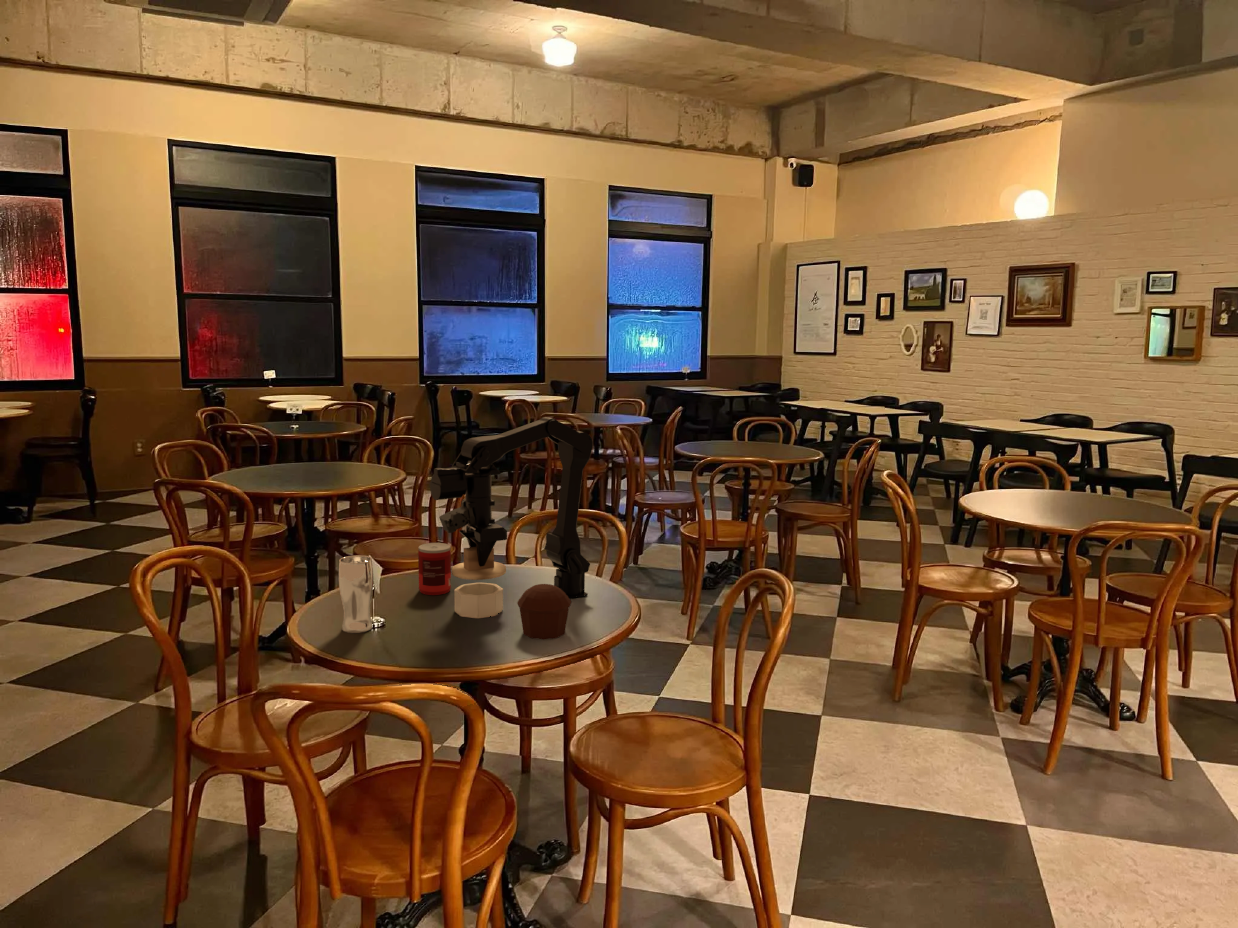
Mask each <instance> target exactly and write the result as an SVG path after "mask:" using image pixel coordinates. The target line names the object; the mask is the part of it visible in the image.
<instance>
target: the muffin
mask: <svg viewBox="0 0 1238 928" xmlns="http://www.w3.org/2000/svg"><path fill="white" fill-rule="evenodd" d="M516 603H517V606H518V608H519V613H520V620H521V627H522V631H523V632H522V633H523V635H524V636H527V637H529V638H530V639H538V640H549V639H550V640H551V639H552V640H553V639H558V638H560V637H562V636H564V635H565V633H566V628H567V627H566V626H567V621H568V615H569V608H570V607H571V604H572V600H571V598H568V596H567V595H566V594H565V592H563V591H562V590H561V589H560V588H558V587H557V586H554V584H549V583H539V584H535V585H532V586H531V587H529V588H528V589H526V590H525V591H524V592H523V593H522V595H521V596H520V598H519V599H518V600H517V602H516Z"/></svg>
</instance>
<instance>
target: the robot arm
mask: <svg viewBox="0 0 1238 928" xmlns="http://www.w3.org/2000/svg"><path fill="white" fill-rule="evenodd" d="M546 438H547V439H549V440H550V441H551V442H553V443H555V444H557V447H558V451H557V452H558V456H559V460H560V463H561V466H562V467H561V469H562V471H561V480H560V481H561V482H560V490H559V498H558V507H557V516H556V517H557V518H556V524H555V528H554V529H553V531H552V532H551V533H550V532H547V533H546V535H545V539H546V540H545V542H546V543H545V546H544V547H543V549H544V550H546V557H547V558H548V559H549V560H550V561H551V563H552V567H554V568H556V569H555V575H554V577H553V579H554V580H553V585H554V586H557V587H558V588H560V589H561V590H562V591H563V592H565V594H566V595H567V596H568V598H569V599H574V598H575V599H576V598H581V597H588V595H589V593H588V592H586V591H585V587H586V586H585V585H586V584H585V583H586V580H585V577H586V573H589V569H590V566H591V563H590V562H589V561H588V560H587V559H586V558H585V557H584V556H583V555H582V549H581V539H580V537H579V533H578V529H577V526H578V517H579V508H580V502H581V501H580V500H581V499H580V498H581V491H582V480H583V472H584V469H585V468H586V465H587V464H588V463H589V461H590V458H591V456H592V452H593V448H594V440H593V438H592V437H591V435H590V434H589V433H588V432H585V431H580V430H575V429H573V428H571V427H570V426H567V425H566V424H563V423H562V422H560V421H559V420H557V419H556V418H552V417H546V416H545V417H541V418H540V419H538V420H535V421H533V422H531V423H527V424H524V425H522V426H519V427H515V428H514V429H510V430H508V431H505V432H503V433H499V434H495V435H483V436H477V437H471V438H470V437H469V438H468V439H466V440H465V441H464V442H463V443H462V446H461V448H460V450H461V451H460V453H458V455H457V457H456V458H455V460H454V462H453V463H452V465H451V467H446V468H441V467H436V468H433V475H432V476H431V479H430V482H429V490H430V494H431V497H432V499H433V500H435V501H441V500H442V501H443V500H449V499H450V500H452V499H458V498H459V499H460V498H462V497H463V496H464V495H465V497H464V498H463V499H462V500H461V502H460V506H459V507H457V508H454V509H452V510H450V511H447V512H445V513H443V514H441V515H440V516H439V521H440V523H441V526H442V528H443V531H445V532H447V533H448V534H451V533H454V532H456V531H457V530H458V532H459V533H460V534H461V535H462V536H463V537H465V539H466V540H467V543H468V548H470V547H476V548H477V555H478V561H479V566H484V565H485V563H486V561H487V559H488V557H489V555H490V553H491V551H492V549H493V548H494V547H495V545H496V543H497V542H500V541H507V540H508V530H507V529H506V528H505V527H504V526H502V525H500V524H498V523H496V519H495V518H493V517H492V516H493V515H492V513H493V511H492V510H493V509H492V508H493V507H494V506H496V504H495V503H496V501H495V500H494V499H492V476H498V475H501V471H500V470H498V469H497V467H495V465H494V463H496V462H498V461H499V460H500V459H502V458H503V456H504V455H506V454H507V453H509V452H511V451H514V450H517V449H519V448H522V447H524V446H527V445H530V444H533V443H535V442H538V441H540V440H544V439H546ZM492 506H493V507H492ZM459 529H460V530H459Z"/></svg>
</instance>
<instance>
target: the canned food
mask: <svg viewBox="0 0 1238 928" xmlns="http://www.w3.org/2000/svg"><path fill="white" fill-rule="evenodd" d="M451 548H452V547H451V545H450V544H448V543H445V542H444V543H443V542H428V543H423V544H420V545H419V546H418V548H417V549H418V550H417V551H418V553H417V555H418V556H417V558H418V561H417V563H418V565H417V566H418V568H417V569H418V590H419V593H420V594H423V595H428V596H441V595H444V594H448V593H449V592H451V590H452V589H451V588H452V549H451Z"/></svg>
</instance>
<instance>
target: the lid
mask: <svg viewBox="0 0 1238 928" xmlns="http://www.w3.org/2000/svg"><path fill="white" fill-rule="evenodd" d="M506 572H507V567H506V565H505V564H503V563H502V562H497V561H495V548H494V547H493V549H492V551H491V553H490V555H489V557H488V559H487V561H486V563H485V565H484V566H479V561H478V555H477V548H476V547H463V562H460V563H457V564H455V565H453V566H451V576H453V577H455V578H457V579H458V578H459V579H462V580H469V581H470V580H471V581H481V580H482V581H483V580H491V579H495V578H499V577H502V576H503V575H506Z"/></svg>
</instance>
